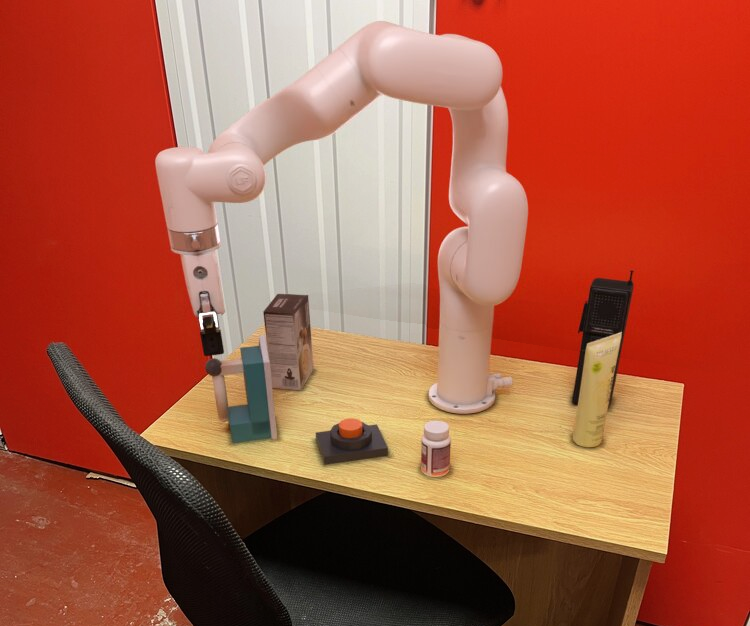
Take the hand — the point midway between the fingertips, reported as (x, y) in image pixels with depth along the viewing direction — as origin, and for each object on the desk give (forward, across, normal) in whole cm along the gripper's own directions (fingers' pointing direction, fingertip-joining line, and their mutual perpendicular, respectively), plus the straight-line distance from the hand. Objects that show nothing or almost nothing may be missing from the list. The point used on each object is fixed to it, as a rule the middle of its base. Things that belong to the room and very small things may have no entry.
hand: (212, 341), depth 127 cm
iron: (+9, 0, -9) cm, 12 cm away
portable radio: (+19, -5, -67) cm, 70 cm away
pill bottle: (+19, -20, -32) cm, 42 cm away
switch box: (+18, -10, -20) cm, 29 cm away
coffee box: (+18, +18, -14) cm, 29 cm away
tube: (+19, -18, -60) cm, 66 cm away
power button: (+15, -10, -20) cm, 27 cm away
